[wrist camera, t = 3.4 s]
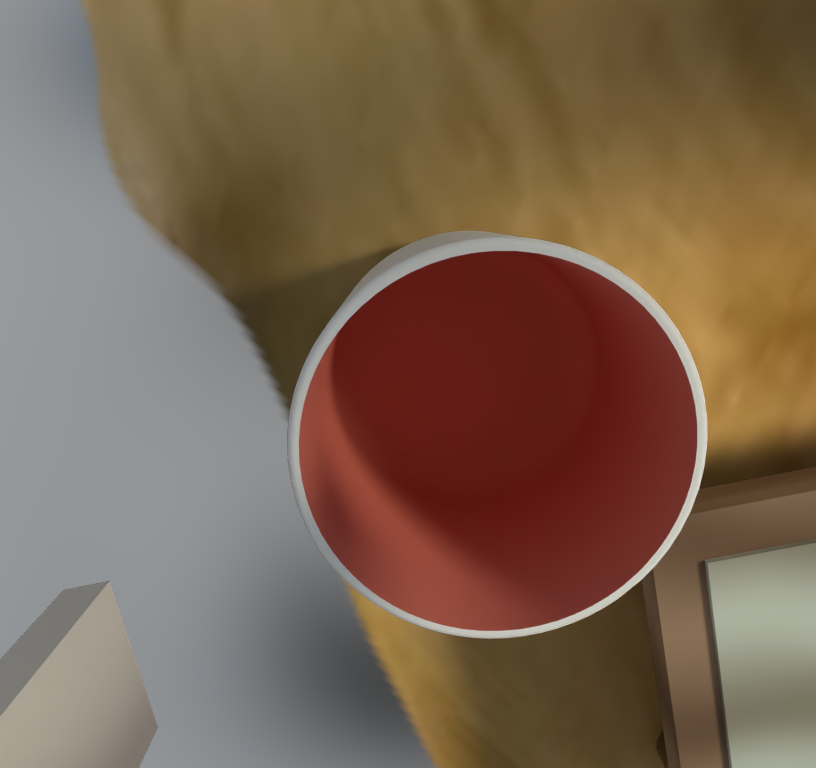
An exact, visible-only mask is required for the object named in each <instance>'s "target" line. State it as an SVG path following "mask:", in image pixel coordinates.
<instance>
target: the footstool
mask: <svg viewBox="0 0 816 768" xmlns="http://www.w3.org/2000/svg"><path fill="white" fill-rule="evenodd" d="M642 587H643V593H644V600H645V607H646V614H647V621H648V628H649V635H650V642H651V649H652V656H653V663H654V670H655V677H656V683H657V690H658V697H659V704H660V711H661V718H662V725H663V732H662V733H661V735H660V736H659V738H658V741H657V751H658V753H659V756H660V758H661V760H662V762H663V764H664V766H665V768H816V467H811V468H806V469H801V470H796V471H791V472H786V473H780V474H775V475H770V476H765V477H760V478H754V479H749V480H744V481H739V482H734V483H728V484H723V485H718V486H713V487H708V488H703V489H699V490H698V493H697V496H696V498H695V501H694V504H693V507H692V509H691V512H690V514H689V516H688V518H687V519H686V521H685V523H684V525H683V527H682V529H681V531H680V533H679V534H678V536H677V537H676V539H675V540H674V542H673V544H672V545H671V547H670V548H669V550H668V551H667V552H666V553H665V555H664V556H663V557H662V558H661V560H660V561H659V562H658V563H657V564H656V566H655V567H654V568H653V569H652V570H651V571H650V572H649V573H648V574H647V575H646V576H645V577H644V578H643V579H642Z"/></svg>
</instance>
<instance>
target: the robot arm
mask: <svg viewBox="0 0 816 768" xmlns="http://www.w3.org/2000/svg"><path fill="white" fill-rule="evenodd" d="M157 728H158V726H157V723H156V720H155V717H154V714H153V711H152V708H151V705H150V702H149V699H148V696H147V693H146V689H145V686H144V683H143V680H142V677H141V675H140V671H139V668H138V665H137V662H136V659H135V656H134V653H133V650H132V647H131V644H130V641H129V638H128V635H127V632H126V629H125V626H124V623H123V620H122V617H121V614H120V611H119V608H118V604H117V602H116V598H115V595H114V592H113V590H112V586H111V584H110V581H106V582H101V583H96V584H92V585H86V586H81V587H76V588H72V589H66V590H63V591H62V592H61V593H60V594H59V596H58V597H57V598H56V599H55V600H54V601H53V602H52V603H51V604H50V605H49V606H48V608H47V609H46V610H45V611H44V612H43V613H42V614H41V615H40V616H39V617H38V619H37V620H36V621H35V622H34V623H33V624H32V625H31V626H30V627H29V628H28V630H27V631H26V632H25V633H24V634H23V635H22V636H21V637H20V638H19V639H18V640H17V641H16V643H15V644H14V645H13V646H12V647H11V648H10V649H9V650H8V651H7V653H6V654H5V655H4V656H3V657H2V658H1V659H0V768H139V766H140V764H141V762H142V760H143V758H144V756H145V754H146V752H147V750H148V747H149V745H150V743H151V741H152V739H153V737H154V735H155V733H156V731H157Z"/></svg>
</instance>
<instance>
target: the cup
mask: <svg viewBox="0 0 816 768" xmlns="http://www.w3.org/2000/svg"><path fill="white" fill-rule="evenodd" d="M287 446H288V464H289V471H290V477H291V484H292V487H293V491H294V494H295V498H296V502H297V505H298V508H299V510H300V512H301V515H302V517H303V520H304V522H305V525H306V527H307V529H308V531H309V532H310V534H311V536H312V538H313V539H314V541H315V543H316V545H317V546H318V548H319V549H320V551H321V552H322V553H323V555H324V556H325V558H326V559H327V560H328V562H329V563H330V564H331V565H332V566H333V568H334V569H335V570H336V571H337V572H338V573H339V574H340V575H341V576H342V578H343V579H344V580H345V581H347V582H348V583H349V584H350V585H351V586H352V587H353V588H354V589H355V590H357V591H358V592H359V593H360V594H362V595H363V596H364V597H366V598H367V599H368V600H370V601H371V602H373V603H374V604H375V605H377V606H379V607H381V608H382V609H384V610H386V611H387V612H389V613H391V614H392V615H394V616H397V617H399V618H401V619H403V620H405V621H407V622H410V623H412V624H415V625H418V626H420V627H423V628H426V629H430V630H433V631H437V632H441V633H445V634H450V635H455V636H462V637H470V638H487V639H492V638H512V637H521V636H528V635H533V634H538V633H543V632H546V631H550V630H554V629H557V628H560V627H563V626H566V625H569V624H572V623H574V622H576V621H579V620H581V619H583V618H585V617H588V616H590V615H592V614H594V613H595V612H597V611H599V610H601V609H603V608H605V607H606V606H608V605H609V604H611V603H612V602H614V601H616V600H617V599H618V598H620V597H621V596H622V595H623V594H625V593H626V592H627V591H628V590H630V589H631V588H632V587H633V586H635V585H636V584H637V583H638V582H640V581H641V580H642V579H643V578H644V577H645V576H646V575H647V574H648V573H649V572H650V571H651V570H652V569H653V568H654V567H655V566H656V564H657V563H658V562H659V561H660V560H661V558H662V557H663V556H664V555H665V553H666V552H667V551H668V550H669V548H670V547H671V545H672V544H673V542H674V540H675V539H676V537H677V536H678V534H679V533H680V531H681V529H682V527H683V525H684V523H685V521H686V519H687V518H688V516H689V514H690V512H691V509H692V507H693V504H694V501H695V498H696V496H697V493H698V490H699V487H700V483H701V479H702V475H703V470H704V466H705V458H706V450H707V413H706V406H705V398H704V393H703V389H702V385H701V381H700V378H699V374H698V371H697V368H696V366H695V363H694V361H693V358H692V356H691V353H690V351H689V349H688V347H687V345H686V343H685V341H684V340H683V338H682V336H681V334H680V332H679V331H678V329H677V328H676V326H675V325H674V323H673V322H672V321H671V319H670V318H669V316H668V315H667V314H666V312H665V311H664V310H663V309H662V308H661V307H660V306H659V304H658V303H657V302H656V301H655V300H654V299H653V298H652V297H651V296H650V295H649V294H648V293H647V292H646V291H645V290H644V289H642V288H641V287H640V286H639V285H638V284H637V283H636V282H635V281H633V280H632V279H630V278H629V277H628V276H626V275H625V274H624V273H622V272H621V271H619V270H618V269H616V268H615V267H613V266H611V265H609V264H608V263H606V262H604V261H602V260H600V259H598V258H596V257H594V256H592V255H589V254H587V253H585V252H583V251H580V250H577V249H574V248H571V247H568V246H565V245H562V244H558V243H553V242H549V241H545V240H540V239H533V238H526V237H518V236H512V235H505V234H499V233H492V232H483V231H456V232H447V233H443V234H438V235H433V236H430V237H427V238H423V239H420V240H418V241H415V242H413V243H411V244H408V245H406V246H404V247H402V248H400V249H399V250H397V251H395V252H393V253H392V254H390V255H389V256H387V257H386V258H384V259H383V260H382V261H380V262H379V263H378V264H377V265H376V266H374V267H373V268H372V269H371V270H370V271H369V272H368V273H367V274H366V275H365V276H364V277H363V278H362V279H361V280H360V281H359V283H358V284H357V285H356V286H355V288H354V289H353V290H352V291H351V293H350V294H349V295H348V297H347V298H346V300H345V301H344V302H343V304H342V305H341V306H340V308H339V309H338V310H337V312H336V313H335V314H334V316H333V317H332V318H331V320H330V321H329V322H328V324H327V325H326V327H325V328H324V330H323V331H322V333H321V334H320V336H319V337H318V339H317V340H316V342H315V343H314V345H313V347H312V349H311V351H310V353H309V355H308V357H307V358H306V361H305V363H304V365H303V368H302V370H301V373H300V375H299V378H298V381H297V384H296V387H295V390H294V394H293V398H292V403H291V408H290V413H289V422H288V433H287Z"/></svg>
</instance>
